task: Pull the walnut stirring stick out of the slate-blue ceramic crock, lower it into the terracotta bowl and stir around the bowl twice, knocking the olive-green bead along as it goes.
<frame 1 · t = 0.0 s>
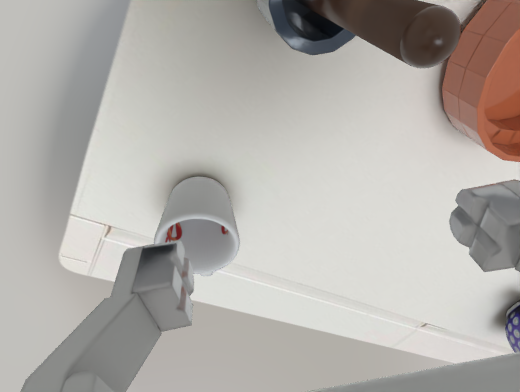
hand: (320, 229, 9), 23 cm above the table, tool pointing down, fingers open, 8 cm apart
cup: (202, 204, 37), on the table
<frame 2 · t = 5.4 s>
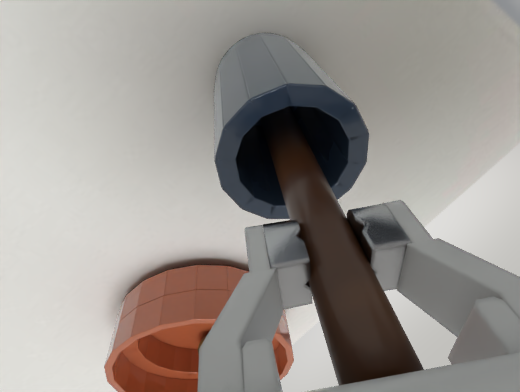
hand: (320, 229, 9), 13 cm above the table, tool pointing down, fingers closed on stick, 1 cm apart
bowl: (204, 311, 33), on the table
stick: (265, 90, 19), point 1 cm above the table, touching crock, gripper
crock: (264, 86, 20), on the table
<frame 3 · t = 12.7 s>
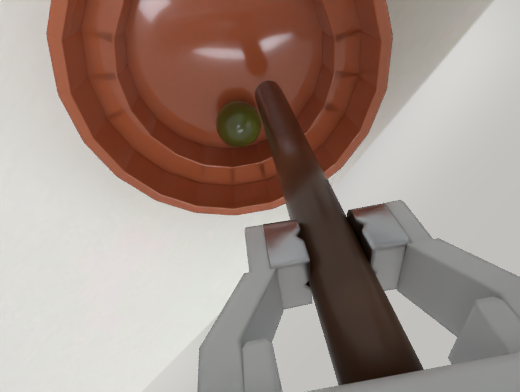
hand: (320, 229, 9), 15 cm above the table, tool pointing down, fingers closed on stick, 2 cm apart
bowl: (227, 59, 21), on the table
bead: (238, 124, 21), point 2 cm above the table, touching bowl
stick: (266, 90, 19), point 3 cm above the table, touching gripper
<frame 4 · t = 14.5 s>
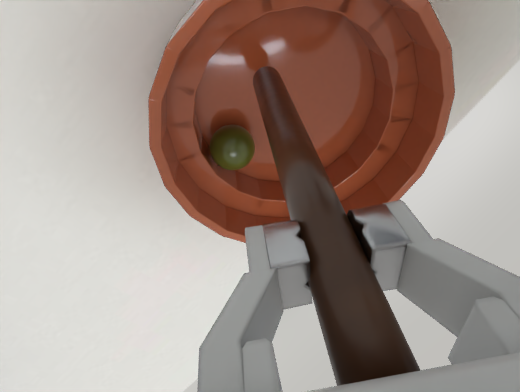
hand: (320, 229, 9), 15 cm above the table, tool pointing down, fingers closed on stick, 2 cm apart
bowl: (284, 101, 22), on the table
bead: (232, 147, 21), point 2 cm above the table, tilted 171°, touching bowl
stick: (265, 76, 18), point 2 cm above the table, touching gripper
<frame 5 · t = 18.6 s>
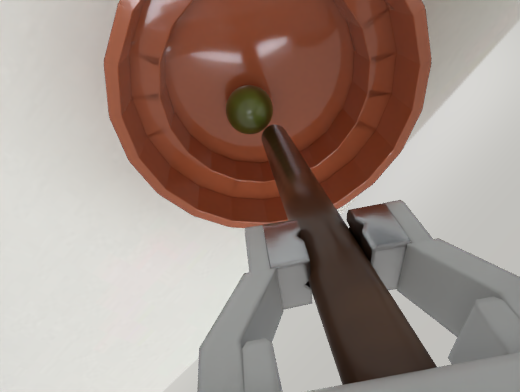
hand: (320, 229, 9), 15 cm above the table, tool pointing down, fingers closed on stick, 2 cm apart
bowl: (260, 77, 21), on the table
bead: (249, 110, 20), point 2 cm above the table, tilted 54°, touching bowl
stick: (273, 134, 20), point 3 cm above the table, tilted 11°, touching gripper
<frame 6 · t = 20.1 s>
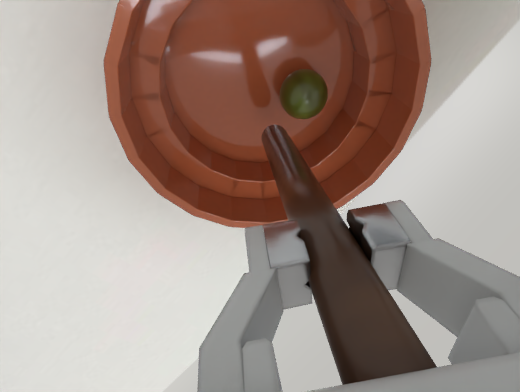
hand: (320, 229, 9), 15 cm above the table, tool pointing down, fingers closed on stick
bowl: (260, 77, 21), on the table
bead: (303, 94, 20), point 2 cm above the table, tilted 81°, touching bowl
stick: (273, 134, 20), point 4 cm above the table, tilted 11°, touching gripper
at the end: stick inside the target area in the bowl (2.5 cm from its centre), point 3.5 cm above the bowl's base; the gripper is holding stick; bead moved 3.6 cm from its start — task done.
